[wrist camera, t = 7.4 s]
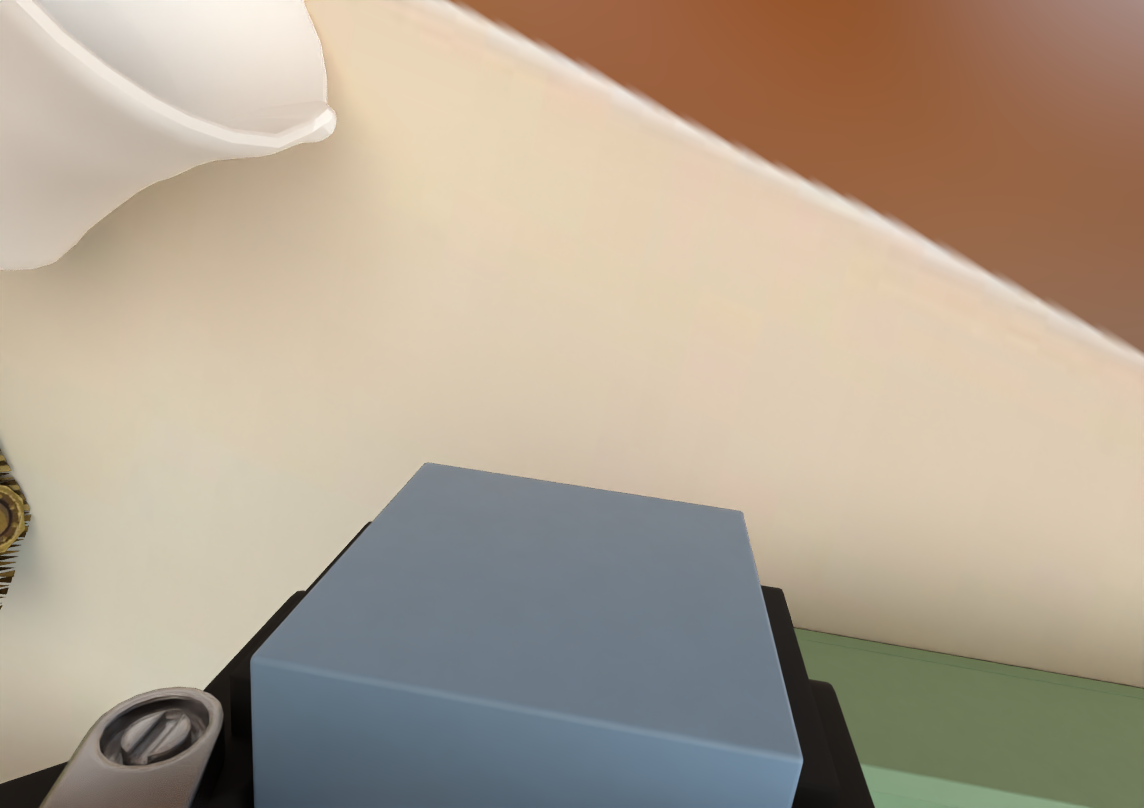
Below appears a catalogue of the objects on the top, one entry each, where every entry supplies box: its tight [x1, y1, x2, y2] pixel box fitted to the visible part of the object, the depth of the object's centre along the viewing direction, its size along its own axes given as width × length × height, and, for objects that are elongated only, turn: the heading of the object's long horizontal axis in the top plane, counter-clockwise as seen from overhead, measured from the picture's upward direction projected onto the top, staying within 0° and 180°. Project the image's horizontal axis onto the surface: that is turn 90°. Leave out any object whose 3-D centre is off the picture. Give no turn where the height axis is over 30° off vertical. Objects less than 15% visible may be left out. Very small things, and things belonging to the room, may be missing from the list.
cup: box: [0, 0, 337, 270], centre depth 18 cm, size 9×9×10 cm
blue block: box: [250, 463, 803, 808], centre depth 9 cm, size 5×5×5 cm
